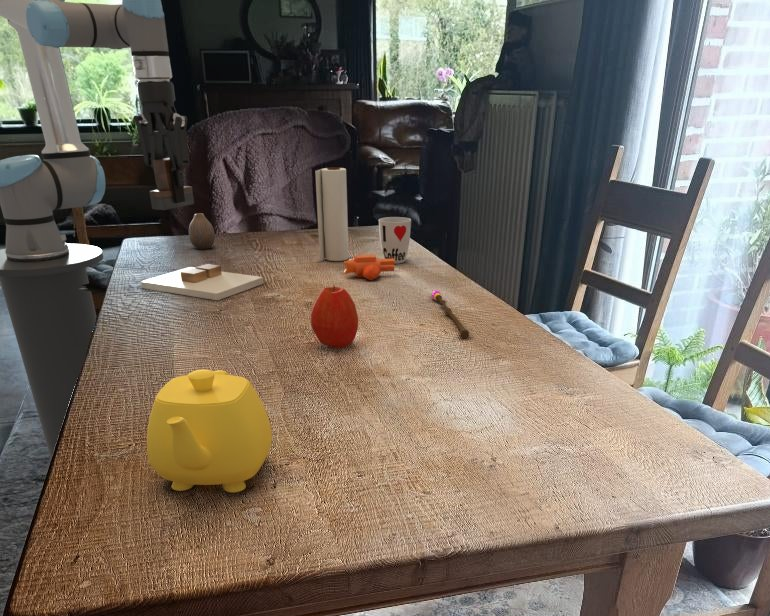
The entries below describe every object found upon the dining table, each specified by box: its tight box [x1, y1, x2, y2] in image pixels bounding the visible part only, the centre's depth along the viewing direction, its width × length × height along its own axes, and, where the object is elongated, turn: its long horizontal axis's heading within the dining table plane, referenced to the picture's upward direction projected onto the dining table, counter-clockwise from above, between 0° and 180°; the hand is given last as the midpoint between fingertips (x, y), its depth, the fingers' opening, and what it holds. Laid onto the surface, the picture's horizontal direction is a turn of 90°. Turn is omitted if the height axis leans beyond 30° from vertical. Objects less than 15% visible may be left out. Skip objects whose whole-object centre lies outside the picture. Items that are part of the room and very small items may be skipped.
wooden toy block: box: [149, 157, 195, 211], centre depth 159 cm, size 4×10×10 cm, turn 152°
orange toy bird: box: [343, 254, 396, 281], centre depth 165 cm, size 5×8×12 cm
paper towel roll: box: [314, 166, 350, 262], centre depth 178 cm, size 7×6×21 cm
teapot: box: [146, 369, 273, 493], centre depth 81 cm, size 14×20×13 cm
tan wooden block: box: [195, 263, 222, 278], centre depth 163 cm, size 4×4×2 cm
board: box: [140, 266, 264, 302], centre depth 161 cm, size 22×16×2 cm
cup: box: [378, 216, 412, 265], centre depth 178 cm, size 8×8×10 cm
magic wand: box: [431, 290, 470, 340], centre depth 140 cm, size 2×2×30 cm
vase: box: [188, 212, 216, 250], centre depth 194 cm, size 7×7×9 cm
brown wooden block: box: [180, 268, 207, 283], centre depth 159 cm, size 4×4×2 cm
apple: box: [310, 284, 359, 349], centre depth 122 cm, size 8×8×11 cm
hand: (172, 201), depth 161 cm, fingers closed on wooden toy block, 3 cm apart
